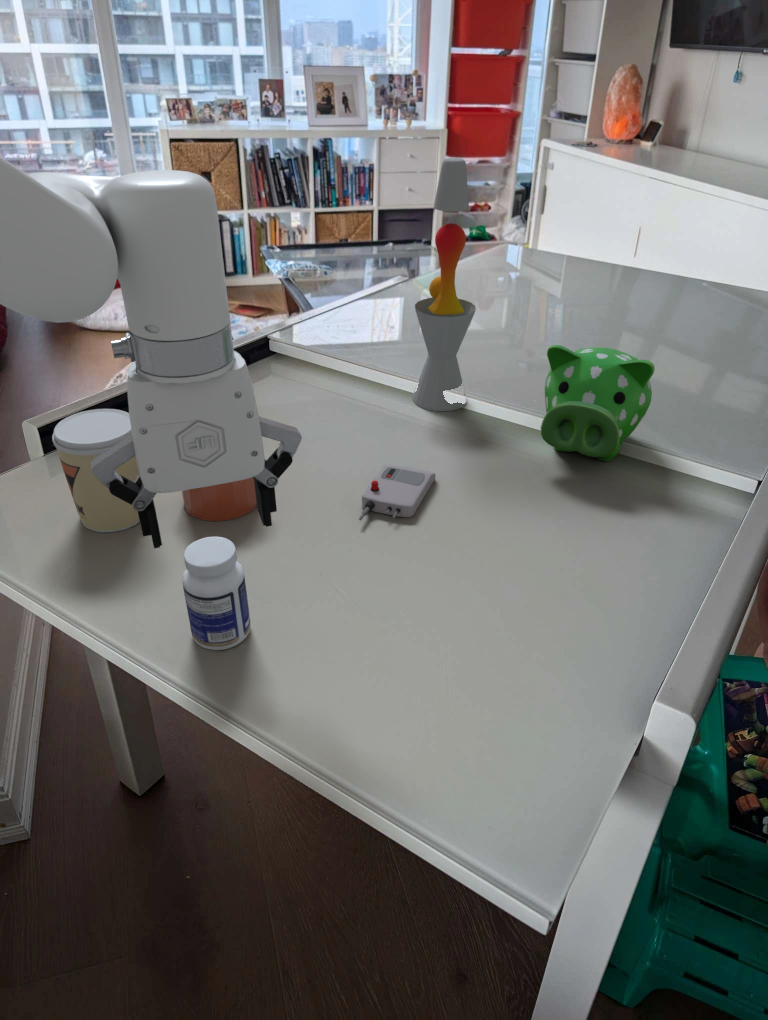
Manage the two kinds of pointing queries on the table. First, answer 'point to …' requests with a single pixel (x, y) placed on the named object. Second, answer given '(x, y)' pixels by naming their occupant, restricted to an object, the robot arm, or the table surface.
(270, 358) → the table surface
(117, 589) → the table surface
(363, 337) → the table surface
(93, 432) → the coffee cup
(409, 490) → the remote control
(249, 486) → the pen cup
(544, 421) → the piggy bank
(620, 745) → the table surface
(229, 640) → the pill bottle
